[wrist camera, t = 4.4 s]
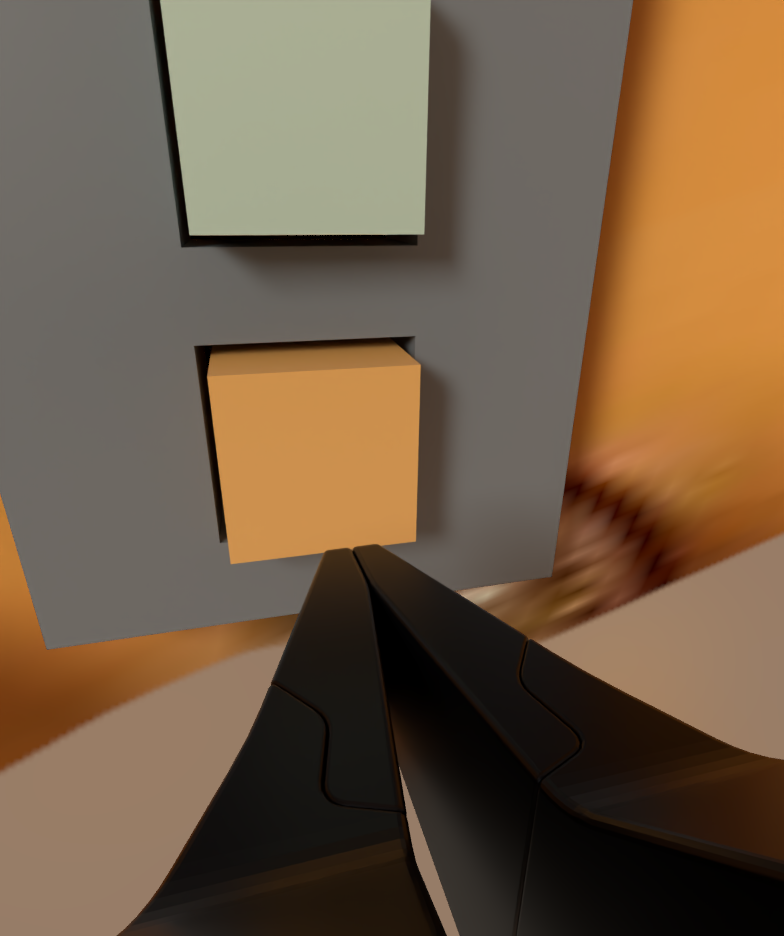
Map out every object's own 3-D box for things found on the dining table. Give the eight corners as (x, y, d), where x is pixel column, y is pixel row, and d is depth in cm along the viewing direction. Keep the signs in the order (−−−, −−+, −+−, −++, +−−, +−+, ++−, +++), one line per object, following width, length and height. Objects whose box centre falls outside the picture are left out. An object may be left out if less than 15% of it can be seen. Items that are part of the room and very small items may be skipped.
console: (75, 581, 18) (46, 649, 15) (-320, -950, 8) (-611, -1558, 5) (510, 528, 21) (551, 576, 18) (628, -613, 11) (758, -881, 8)
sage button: (198, 228, 13) (189, 235, 11) (169, -16, 11) (149, -83, 9) (389, 228, 14) (424, 234, 12) (389, 2, 12) (431, -52, 10)
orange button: (231, 504, 16) (230, 564, 13) (212, 344, 14) (207, 376, 12) (387, 488, 17) (415, 541, 14) (388, 336, 15) (420, 364, 13)
